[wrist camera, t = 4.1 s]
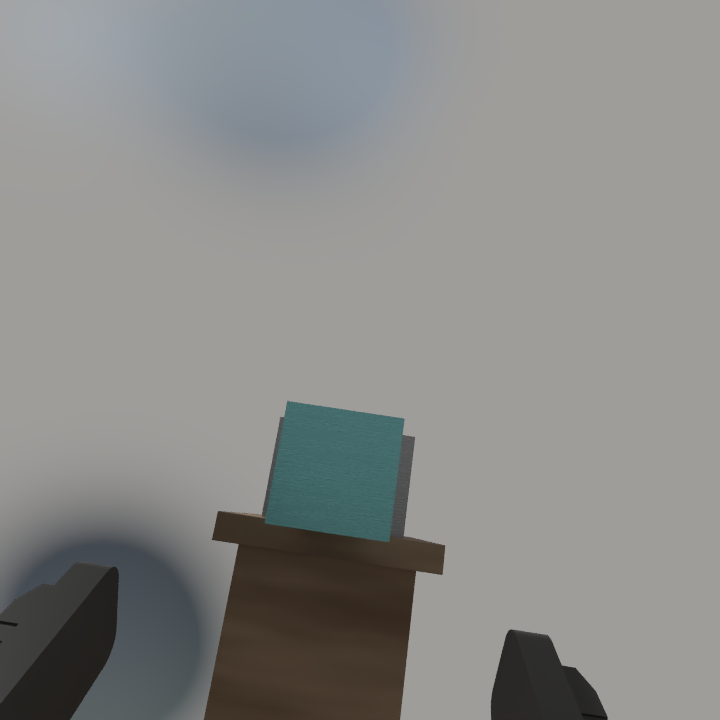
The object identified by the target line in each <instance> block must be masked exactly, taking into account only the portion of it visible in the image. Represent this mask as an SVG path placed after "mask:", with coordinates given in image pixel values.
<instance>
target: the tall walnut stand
mask: <svg viewBox="0 0 720 720" xmlns="http://www.w3.org/2000/svg"><path fill="white" fill-rule="evenodd" d="M265 518H266V517H262V515H259V514H247V513H235V512H222V511H218V514H217V519H216V524H215V528H214V533H213V538H212V540H216V541H223V542H229V543H237V544H239V546H238V551H237V556H236V561H235V566H234V571H233V576H232V581H231V586H230V591H229V596H228V601H227V606H226V611H225V617H224V622H223V626H222V631H221V636H220V642H219V646H218V652H217V656H216V662H215V667H214V672H213V677H212V682H211V687H210V692H209V697H208V702H207V707H206V712H205V717H204V720H400V714H401V704H402V696H403V687H404V677H405V667H406V659H407V649H408V640H409V630H410V622H411V613H412V603H413V594H414V585H415V576H416V575H415V574H416V571H420V572H427V573H434V574H440V575H442V574H443V563H444V553H445V545H440V544H436V543H432V542H428V541H424V540H419V539H415V538H411V537H405V536H403V538H398V537H392V536H390V540H389V542H384V541H377V540H371V539H364V538H357V537H351V536H344V535H338V534H331V533H324V532H318V531H311V530H305V529H298V528H291V527H285V526H278V525H272V524H265Z"/></svg>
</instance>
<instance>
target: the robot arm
mask: <svg viewBox="0 0 720 720" xmlns="http://www.w3.org/2000/svg"><path fill="white" fill-rule="evenodd" d="M118 579H119V574H118V569H117V568H116V567H112V566H106V565H99V564H93V563H86V562H77V563H75V564H74V565H73V566H72V567H71V568H70V569H69V570H68V571H67V572H66V573H65V574H64V575H63V576H62V578H61V579H60V580H59V581H58V582H57V583H56V584H55V585H54V586H53V585H48V584H42V585H40V586H38V587H36V588H35V589H33V590H31V591H29V592H28V593H26V594H24V595H23V596H20V597H19V598H17V599H15V600H14V601H13V602H12V603H11V604H10V605H9V606H8V607H7V608H6V609H5V610H4V611H3V612H2V613H1V614H0V720H70V719H71V717H72V716H73V714H74V713H75V711H76V709H77V708H78V706H79V705H80V703H81V702H82V700H83V698H84V697H85V695H86V694H87V692H88V691H89V689H90V688H91V686H92V684H93V683H94V681H95V680H96V678H97V677H98V675H99V673H100V672H101V670H102V669H103V667H104V666H105V664H106V662H107V660H108V658H109V655H110V653H111V650H112V647H113V644H114V640H115V635H116V626H117V625H116V624H117V602H118V601H117V600H118ZM491 720H607V715H606V713H605V710H604V708H603V706H602V704H601V702H600V699H599V697H598V695H597V693H596V691H595V690H594V689H593V688H592V687H591V685H590V684H589V683H588V682H587V681H586V680H585V679H584V677H583V676H582V675H581V674H580V673H579V672H578V671H577V669H576V668H573V667H567V666H562V665H561V663H560V660H559V658H558V655H557V653H556V650H555V648H554V646H553V643H552V641H551V639H550V638H549V636H548V635H543V634H537V633H530V632H524V631H518V630H509V631H508V633H507V635H506V638H505V642H504V646H503V650H502V654H501V658H500V662H499V666H498V671H497V674H496V679H495V683H494V687H493V691H492V699H491Z"/></svg>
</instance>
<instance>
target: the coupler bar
mask: <svg viewBox="0 0 720 720" xmlns="http://www.w3.org/2000/svg"><path fill="white" fill-rule="evenodd" d="M403 426H404V419H403V418H396V417H390V416H383V415H376V414H369V413H362V412H356V411H349V410H343V409H336V408H330V407H322V406H316V405H310V404H302V403H296V402H289V401H287V406H286V411H285V417H281V418H280V422H279V428H278V433H277V438H276V444H275V449H274V454H273V460H272V465H271V470H270V476H269V481H268V486H267V491H266V497H265V502H264V507H263V512H262V517H266V518H265V524H272V525H278V526H285V527H291V528H298V529H305V530H311V531H318V532H324V533H331V534H338V535H344V536H351V537H357V538H364V539H371V540H377V541H384V542H389V540H390V536H392V537H398V538H403V535H404V527H405V518H406V510H407V502H408V492H409V484H410V475H411V467H412V458H413V450H414V441H415V437H411V436H404V435H402V434H403Z"/></svg>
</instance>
